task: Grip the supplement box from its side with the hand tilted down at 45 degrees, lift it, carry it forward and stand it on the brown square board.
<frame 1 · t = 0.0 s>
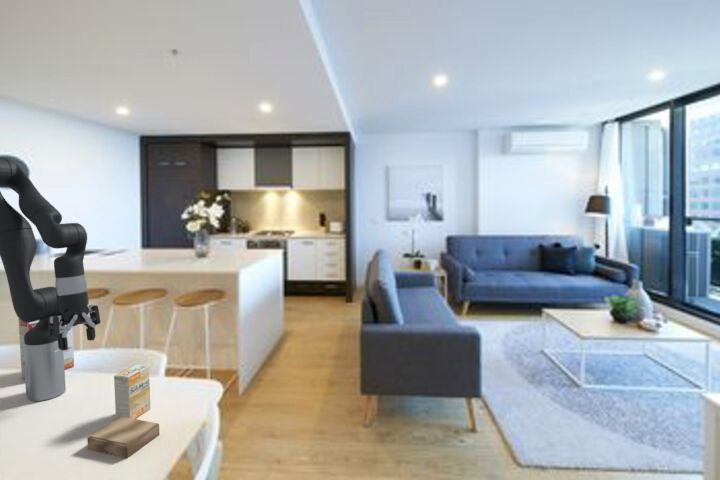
hand: (78, 344, 121), 17 cm above the table, tool pointing down, fingers open, 8 cm apart
supplement box: (134, 415, 115), on the table
brown square board: (124, 441, 102), on the table
cracker box: (49, 373, 142), on the table
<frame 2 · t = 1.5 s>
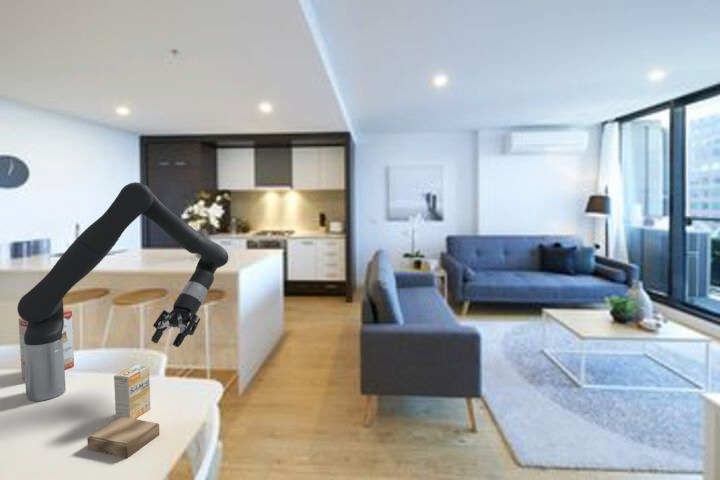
hand: (164, 344, 124), 17 cm above the table, tool tilted 45°, fingers open, 8 cm apart
nothing on the table moved.
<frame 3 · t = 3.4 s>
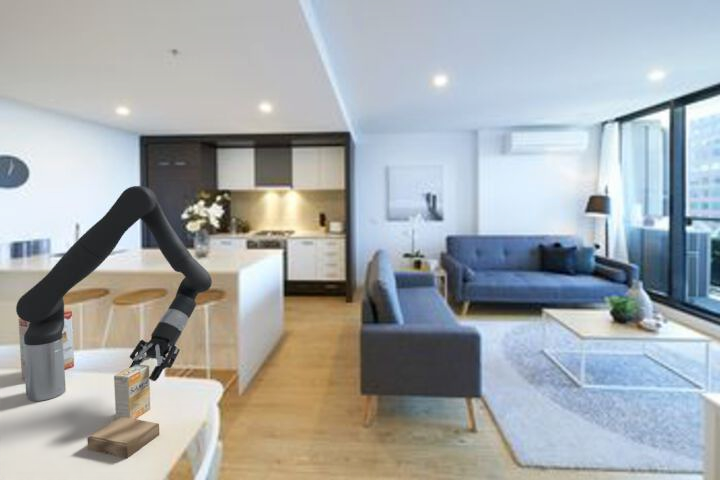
hand: (140, 377, 117), 10 cm above the table, tool tilted 45°, fingers open, 8 cm apart
nothing on the table moved.
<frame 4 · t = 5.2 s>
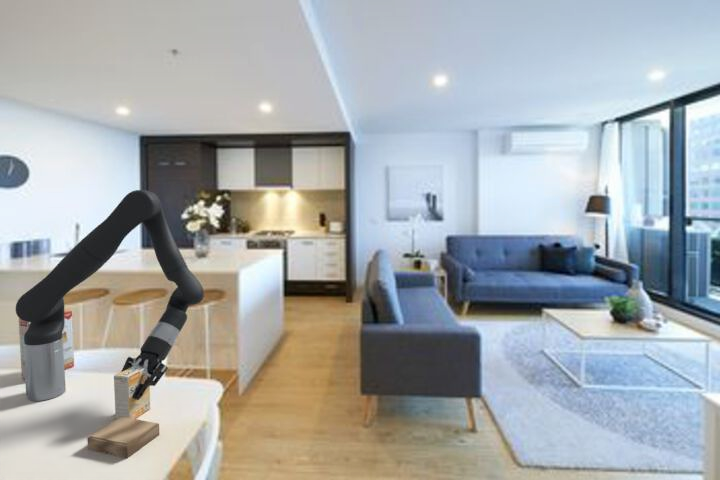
hand: (127, 396, 113), 6 cm above the table, tool tilted 45°, fingers closed on supplement box, 5 cm apart
supplement box: (133, 415, 115), on the table, touching gripper
everything else where it was.
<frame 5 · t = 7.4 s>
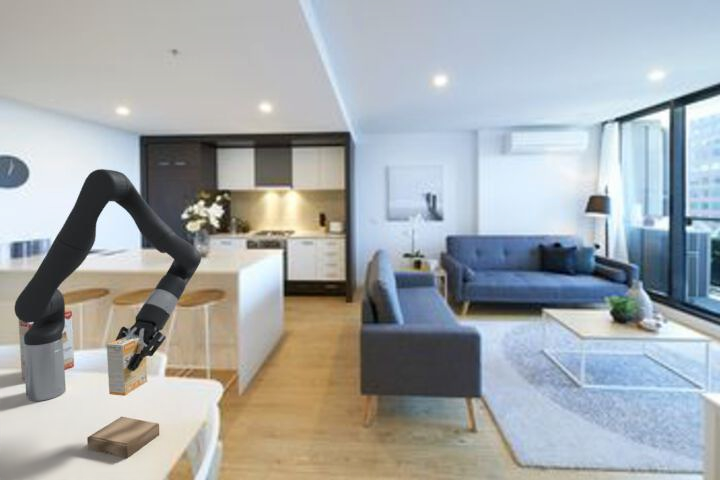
hand: (121, 367, 103), 18 cm above the table, tool tilted 45°, fingers closed on supplement box, 5 cm apart
supplement box: (129, 388, 105), point 12 cm above the table, touching gripper
everything else where it was.
when the fingers open (10 cm above the table, at t = 9.9 s): supplement box drops 1 cm, resting on brown square board.
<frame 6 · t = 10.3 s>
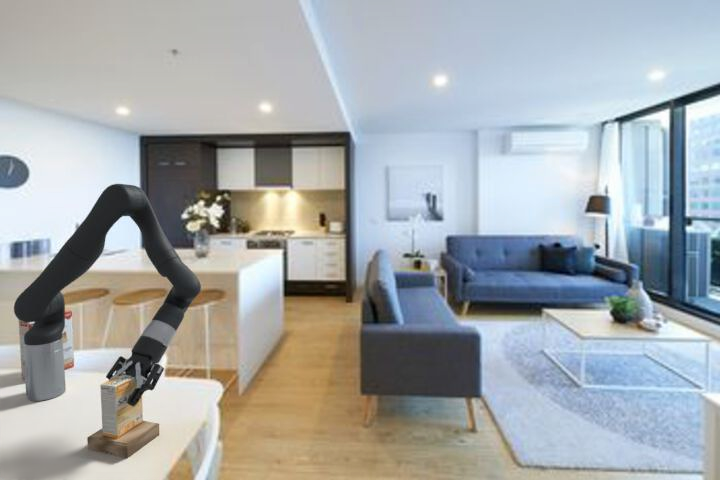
hand: (117, 401, 100), 11 cm above the table, tool tilted 45°, fingers open, 8 cm apart
supplement box: (123, 429, 102), point 3 cm above the table, touching brown square board
everything else where it was.
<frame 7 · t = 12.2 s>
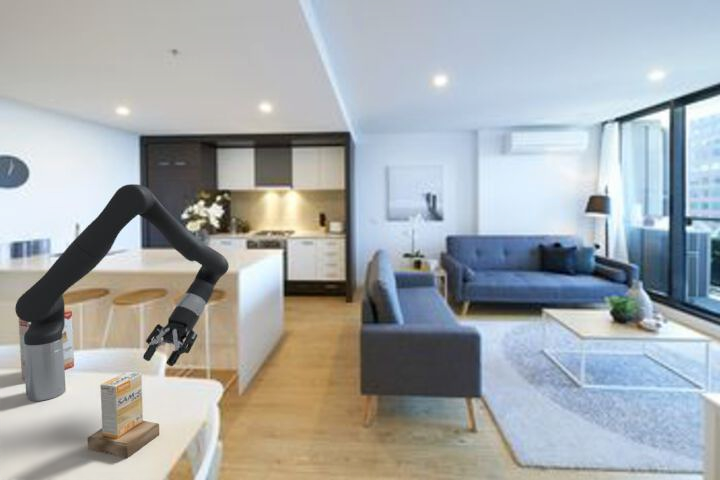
hand: (157, 362, 113), 16 cm above the table, tool tilted 45°, fingers open, 8 cm apart
nothing on the table moved.
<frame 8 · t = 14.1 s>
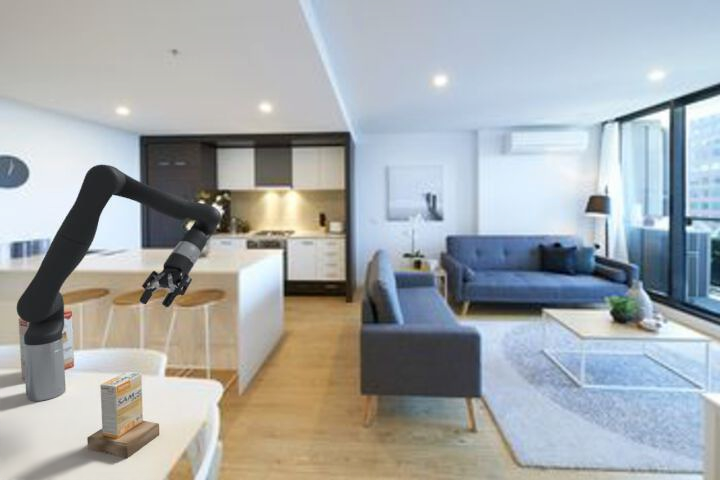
hand: (153, 304, 117), 31 cm above the table, tool tilted 45°, fingers open, 8 cm apart
nothing on the table moved.
at the end: supplement box 0.5 cm from the brown square board (horizontally); supplement box touching brown square board; supplement box tilted 0° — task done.
